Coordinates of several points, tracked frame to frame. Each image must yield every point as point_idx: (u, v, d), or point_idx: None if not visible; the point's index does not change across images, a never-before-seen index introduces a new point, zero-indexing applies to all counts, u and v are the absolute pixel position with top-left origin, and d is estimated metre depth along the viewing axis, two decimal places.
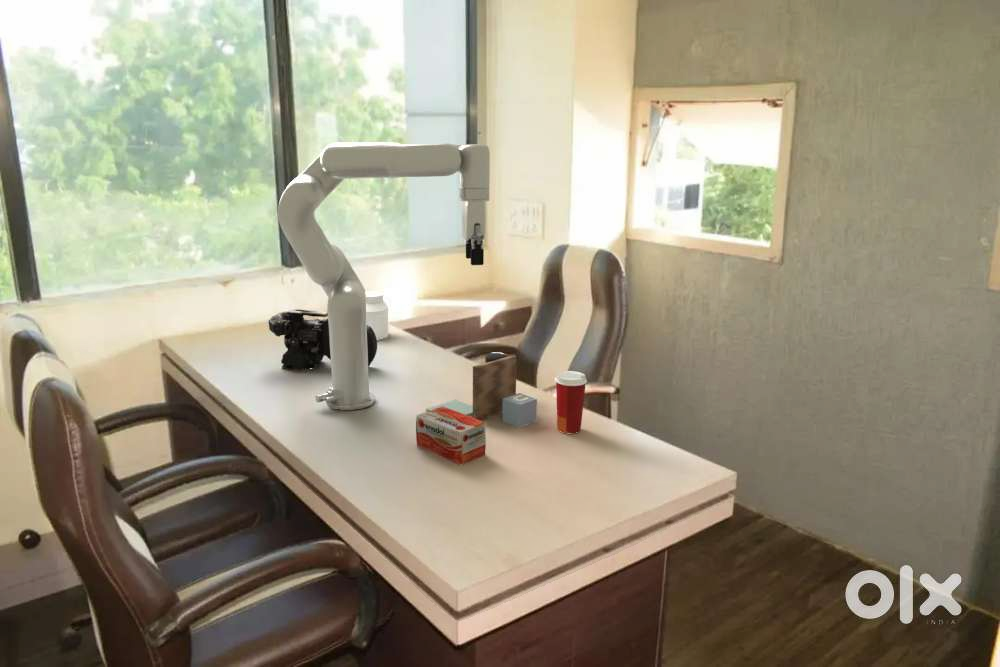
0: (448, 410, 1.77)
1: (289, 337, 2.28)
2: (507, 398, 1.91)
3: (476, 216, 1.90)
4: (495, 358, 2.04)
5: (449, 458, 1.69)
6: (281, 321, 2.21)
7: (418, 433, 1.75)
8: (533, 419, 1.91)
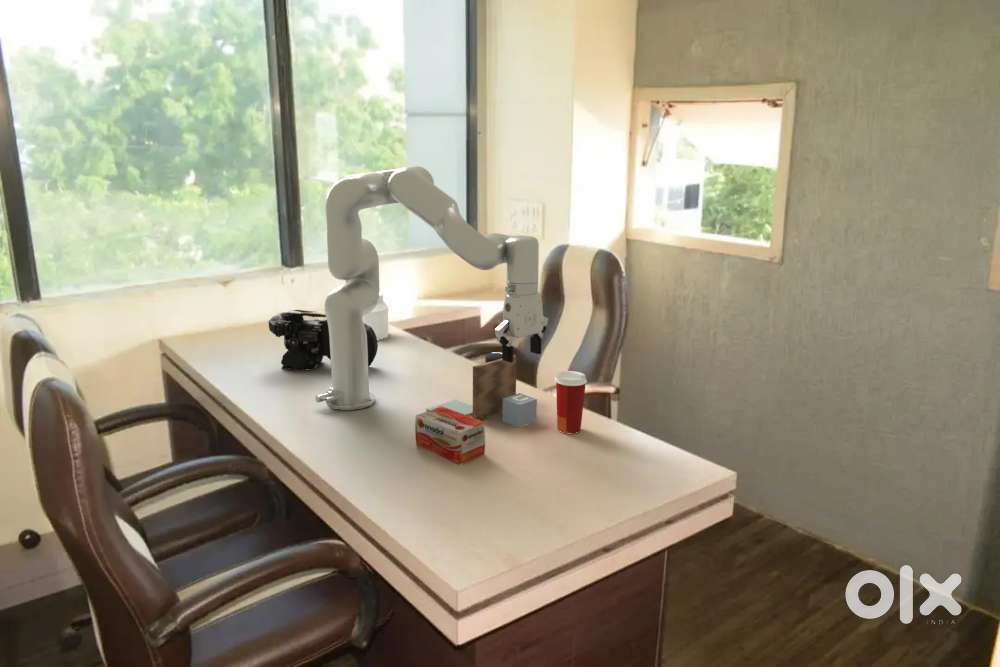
0: (447, 410, 1.77)
1: (289, 338, 2.28)
2: (507, 398, 1.91)
3: None
4: (495, 358, 2.04)
5: (448, 458, 1.69)
6: (281, 322, 2.20)
7: (418, 433, 1.75)
8: (533, 419, 1.91)
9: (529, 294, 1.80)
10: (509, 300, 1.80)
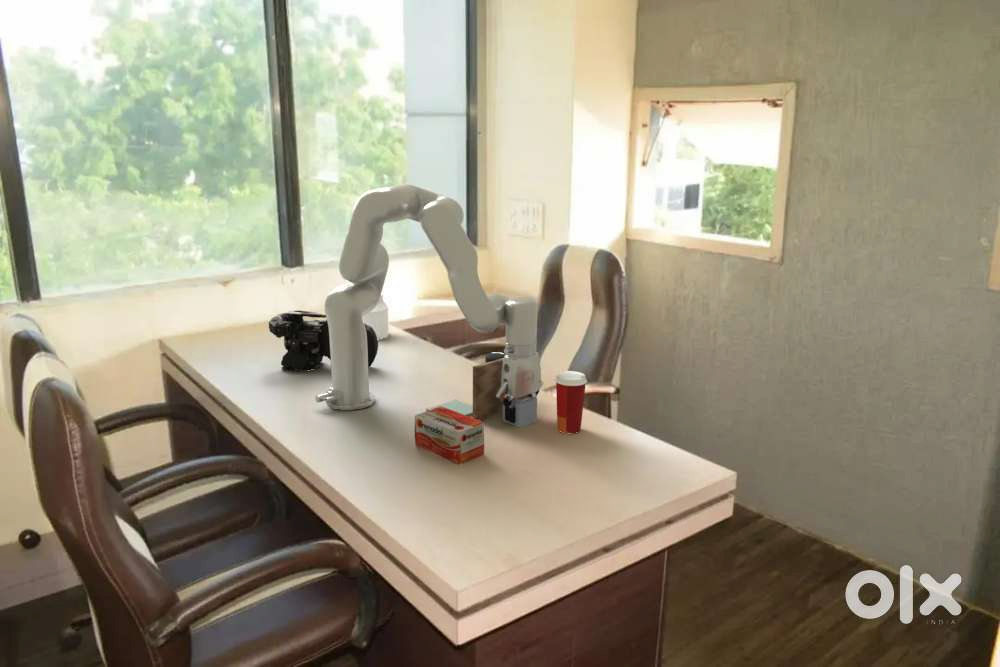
0: (447, 410, 1.77)
1: (289, 338, 2.27)
2: None
3: None
4: (495, 358, 2.04)
5: (448, 458, 1.69)
6: (282, 322, 2.19)
7: (417, 433, 1.75)
8: (533, 419, 1.91)
9: (527, 356, 1.84)
10: (508, 361, 1.84)
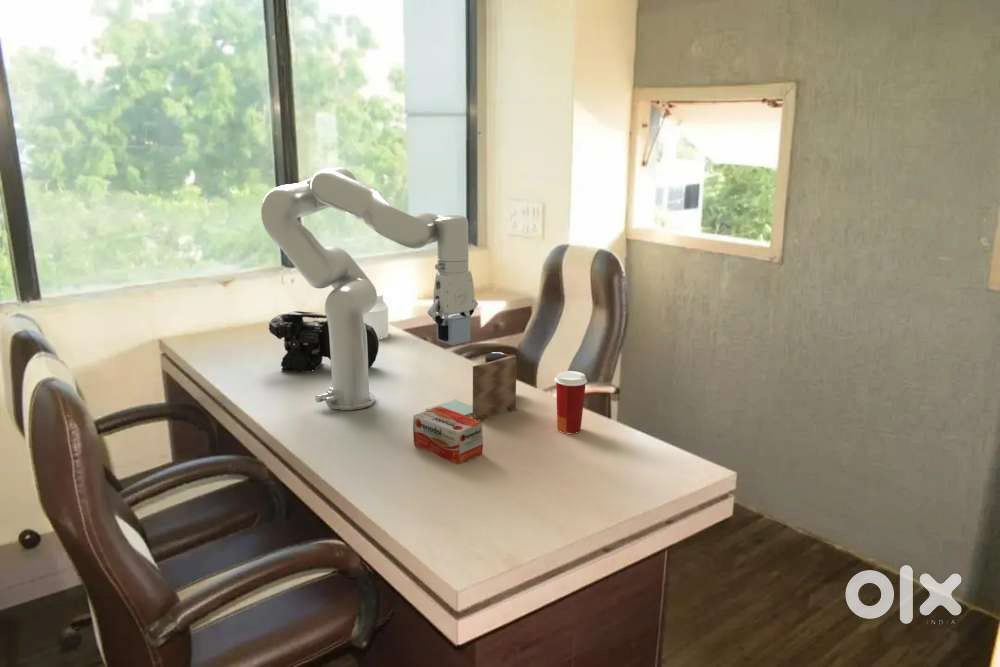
0: (445, 410, 1.77)
1: (289, 339, 2.26)
2: None
3: None
4: (495, 358, 2.04)
5: (446, 458, 1.69)
6: (283, 323, 2.18)
7: (415, 433, 1.75)
8: (467, 338, 1.92)
9: (458, 272, 1.85)
10: (439, 278, 1.85)
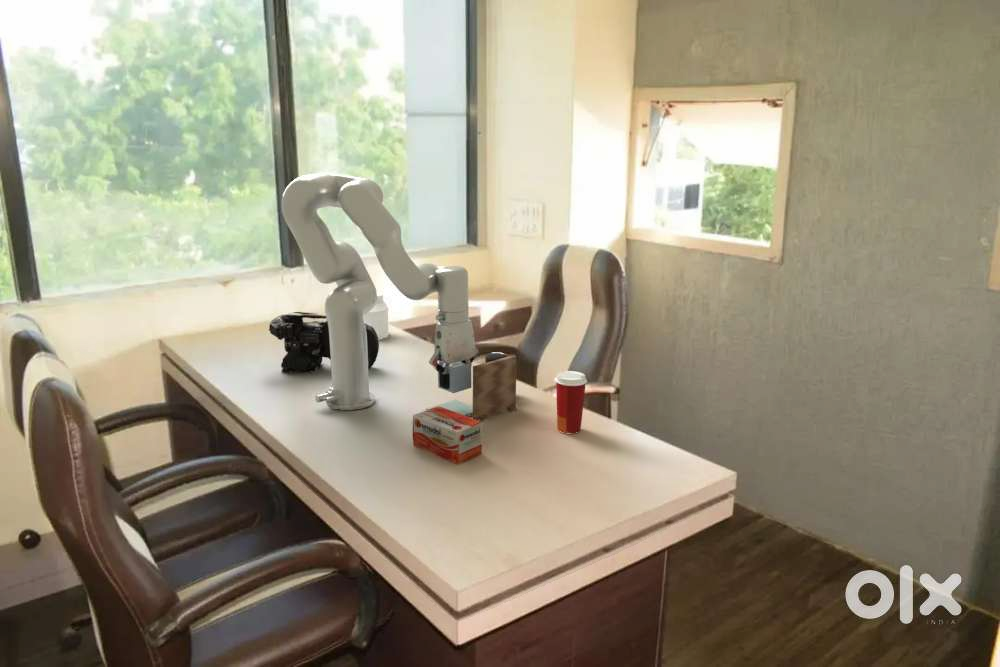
0: (444, 410, 1.77)
1: (289, 340, 2.25)
2: None
3: None
4: (495, 358, 2.04)
5: (446, 458, 1.69)
6: (284, 324, 2.18)
7: (415, 433, 1.75)
8: (468, 385, 1.95)
9: (459, 322, 1.88)
10: (440, 328, 1.88)
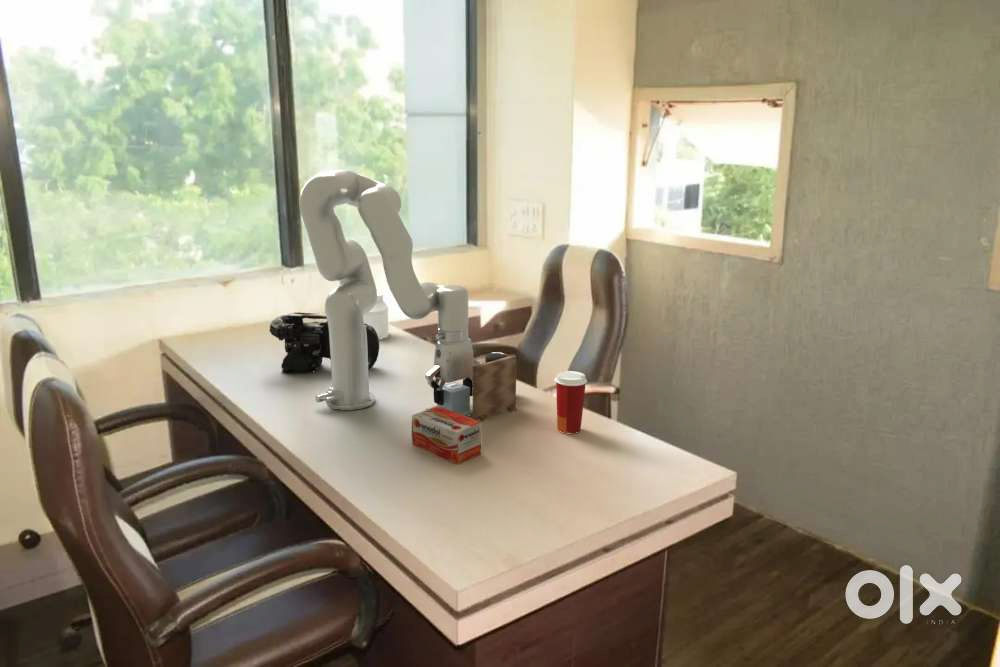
0: (444, 410, 1.77)
1: (289, 341, 2.25)
2: None
3: None
4: (495, 358, 2.04)
5: (445, 458, 1.69)
6: (285, 325, 2.17)
7: (414, 433, 1.75)
8: (466, 407, 1.97)
9: (458, 341, 1.89)
10: (439, 347, 1.90)
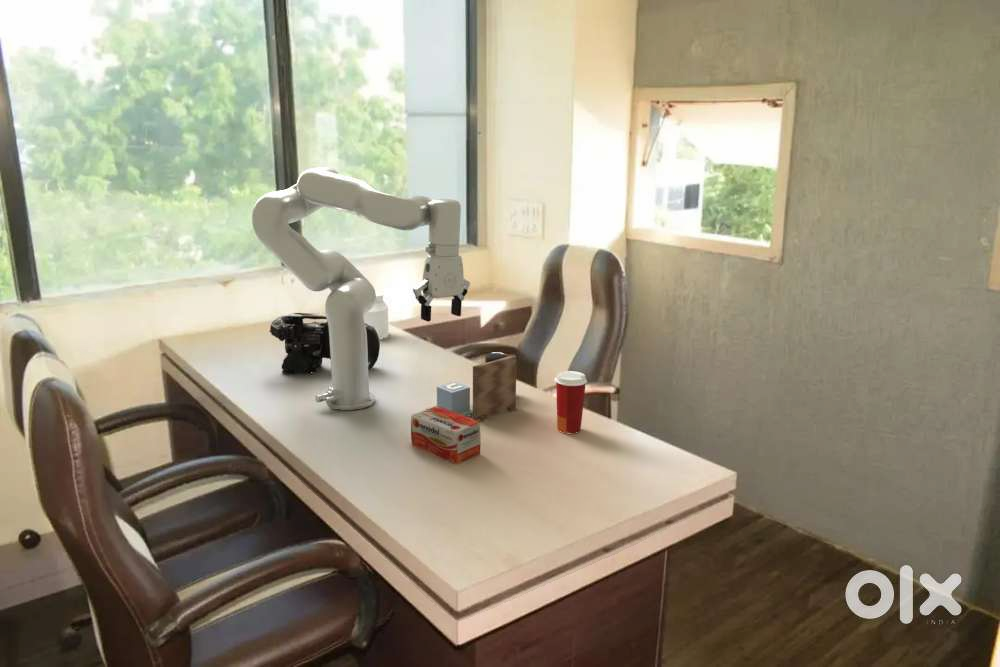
0: (443, 410, 1.77)
1: (290, 341, 2.24)
2: (441, 386, 1.96)
3: None
4: (495, 358, 2.04)
5: (444, 458, 1.69)
6: (286, 325, 2.16)
7: (413, 433, 1.75)
8: (466, 407, 1.97)
9: (448, 256, 1.85)
10: (429, 260, 1.86)
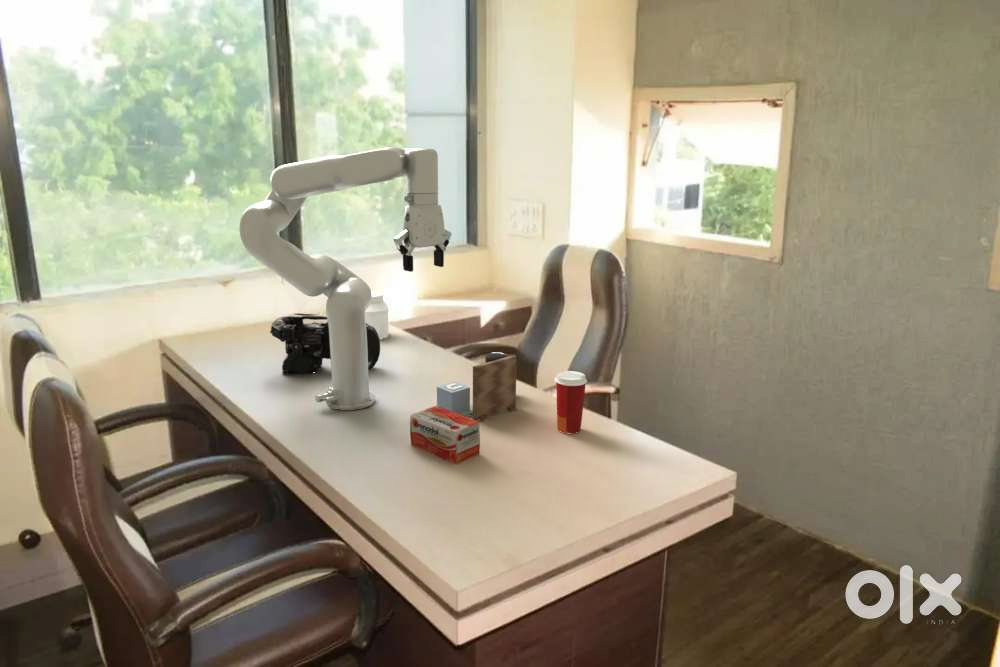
0: (442, 410, 1.77)
1: (290, 342, 2.23)
2: (441, 386, 1.96)
3: None
4: (495, 358, 2.04)
5: (443, 458, 1.70)
6: (287, 326, 2.16)
7: (412, 433, 1.75)
8: (466, 407, 1.97)
9: (427, 204, 1.85)
10: (408, 210, 1.86)
